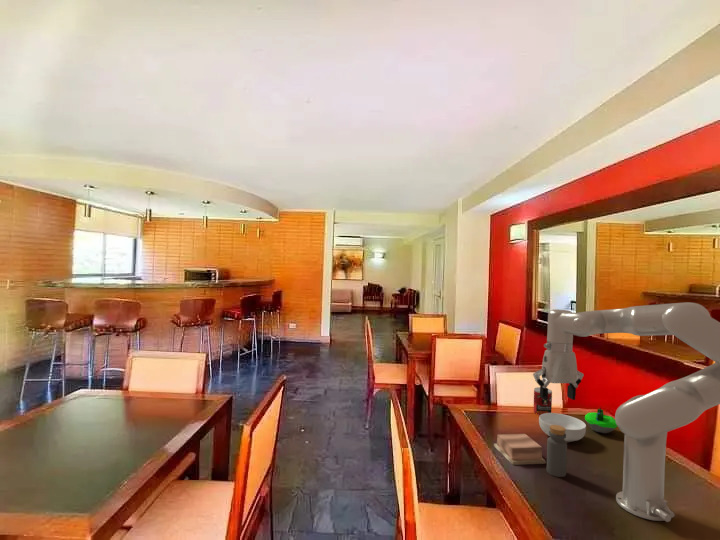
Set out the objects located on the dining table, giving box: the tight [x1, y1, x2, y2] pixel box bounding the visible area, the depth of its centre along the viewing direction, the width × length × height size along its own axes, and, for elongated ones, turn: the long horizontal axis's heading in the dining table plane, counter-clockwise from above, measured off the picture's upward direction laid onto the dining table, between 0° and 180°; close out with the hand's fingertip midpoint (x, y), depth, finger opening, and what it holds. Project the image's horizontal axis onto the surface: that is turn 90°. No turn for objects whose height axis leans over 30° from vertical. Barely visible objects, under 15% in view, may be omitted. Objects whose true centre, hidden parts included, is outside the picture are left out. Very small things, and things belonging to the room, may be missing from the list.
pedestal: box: [493, 433, 547, 466], centre depth 142 cm, size 14×12×5 cm
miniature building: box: [584, 407, 618, 434], centre depth 164 cm, size 12×12×11 cm
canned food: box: [533, 386, 553, 416], centre depth 184 cm, size 8×8×11 cm
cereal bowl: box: [538, 412, 587, 443], centre depth 157 cm, size 17×17×7 cm
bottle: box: [546, 425, 568, 478], centre depth 130 cm, size 6×6×15 cm
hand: (557, 398), depth 130 cm, fingers open, 9 cm apart
